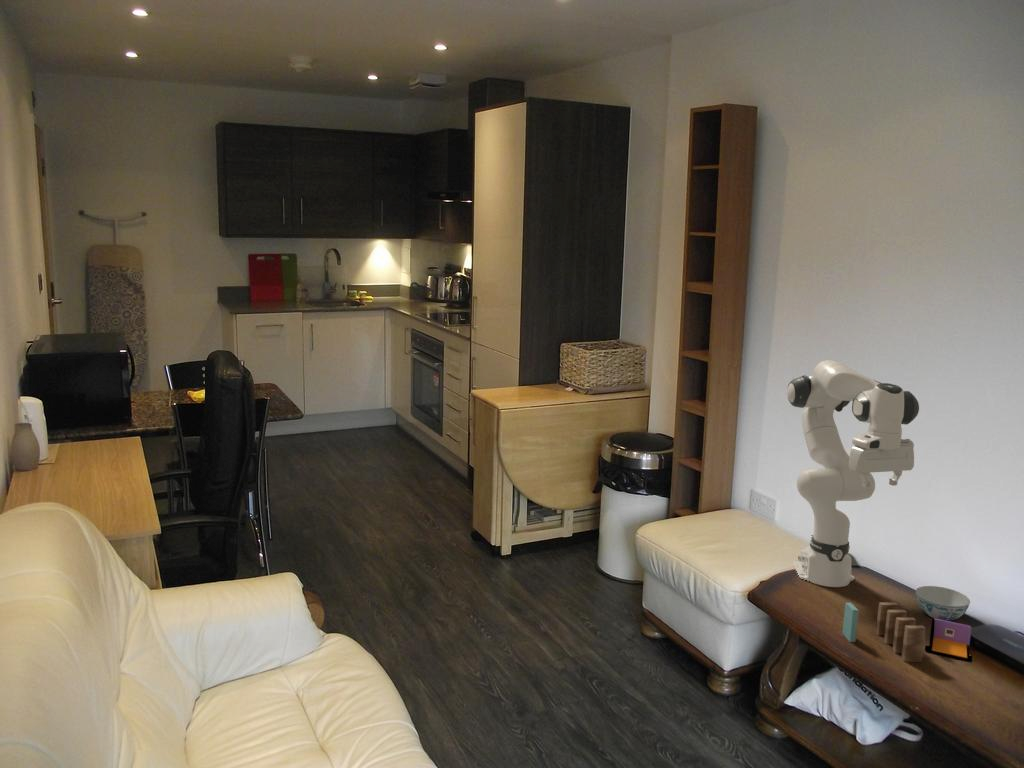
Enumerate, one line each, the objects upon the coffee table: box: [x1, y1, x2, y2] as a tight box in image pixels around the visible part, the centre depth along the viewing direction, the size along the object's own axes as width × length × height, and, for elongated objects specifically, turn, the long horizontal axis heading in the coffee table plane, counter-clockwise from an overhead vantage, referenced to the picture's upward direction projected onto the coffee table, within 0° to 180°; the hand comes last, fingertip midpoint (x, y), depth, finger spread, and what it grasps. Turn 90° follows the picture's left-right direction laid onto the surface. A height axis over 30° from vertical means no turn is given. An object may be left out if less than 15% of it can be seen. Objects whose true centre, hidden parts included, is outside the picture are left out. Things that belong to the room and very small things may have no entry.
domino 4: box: [892, 617, 917, 654], centre depth 236 cm, size 5×2×10 cm, turn 93°
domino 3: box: [883, 609, 908, 645], centre depth 241 cm, size 5×2×10 cm, turn 93°
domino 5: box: [901, 625, 927, 663], centre depth 231 cm, size 5×2×10 cm, turn 93°
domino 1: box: [842, 602, 859, 643], centre depth 243 cm, size 5×2×10 cm, turn 3°
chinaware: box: [915, 585, 971, 622], centre depth 258 cm, size 15×15×8 cm
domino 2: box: [875, 602, 899, 636], centre depth 246 cm, size 5×2×10 cm, turn 93°
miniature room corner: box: [924, 618, 973, 663], centre depth 238 cm, size 12×12×7 cm
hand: (879, 485), depth 244 cm, fingers open, 8 cm apart
